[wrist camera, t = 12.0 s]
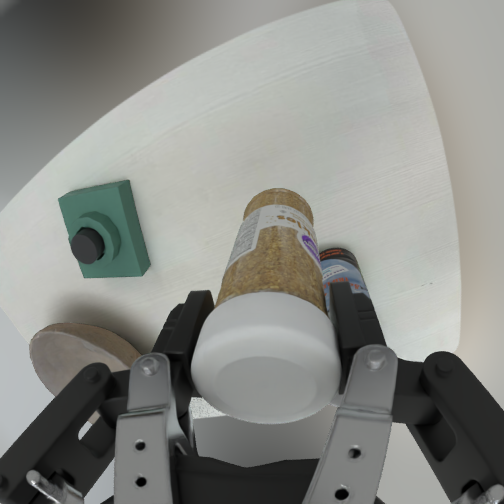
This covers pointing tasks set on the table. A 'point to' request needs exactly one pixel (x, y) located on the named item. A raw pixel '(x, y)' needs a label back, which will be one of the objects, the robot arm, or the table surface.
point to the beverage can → (341, 271)
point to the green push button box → (108, 228)
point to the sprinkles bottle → (270, 320)
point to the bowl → (77, 353)
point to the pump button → (87, 246)
